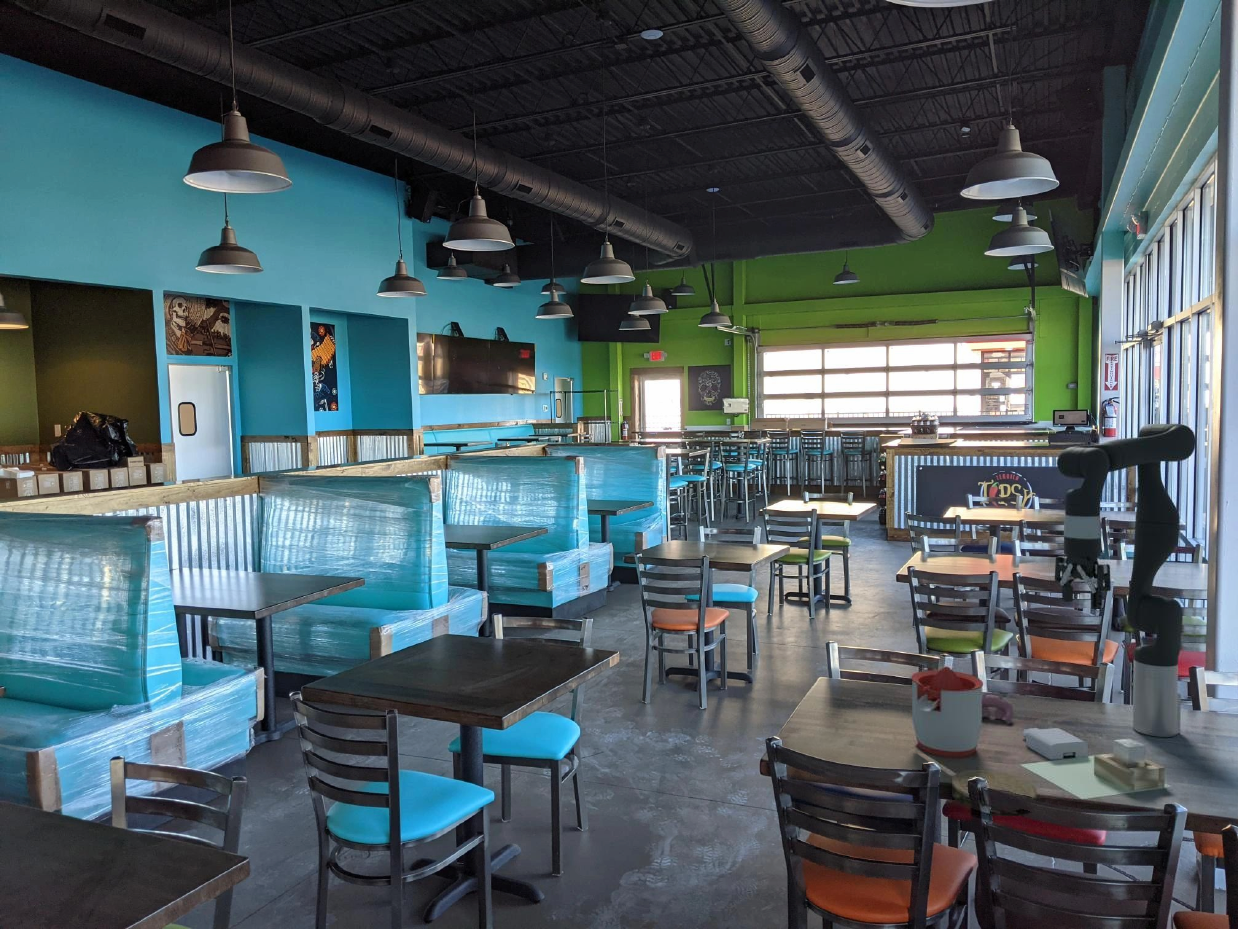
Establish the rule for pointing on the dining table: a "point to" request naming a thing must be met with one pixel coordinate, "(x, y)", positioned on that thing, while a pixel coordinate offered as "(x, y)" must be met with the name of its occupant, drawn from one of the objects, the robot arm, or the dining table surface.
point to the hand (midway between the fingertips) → (1081, 605)
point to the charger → (1055, 743)
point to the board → (1078, 777)
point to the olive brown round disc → (991, 786)
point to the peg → (1129, 753)
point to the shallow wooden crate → (1129, 774)
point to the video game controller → (999, 703)
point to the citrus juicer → (947, 711)
